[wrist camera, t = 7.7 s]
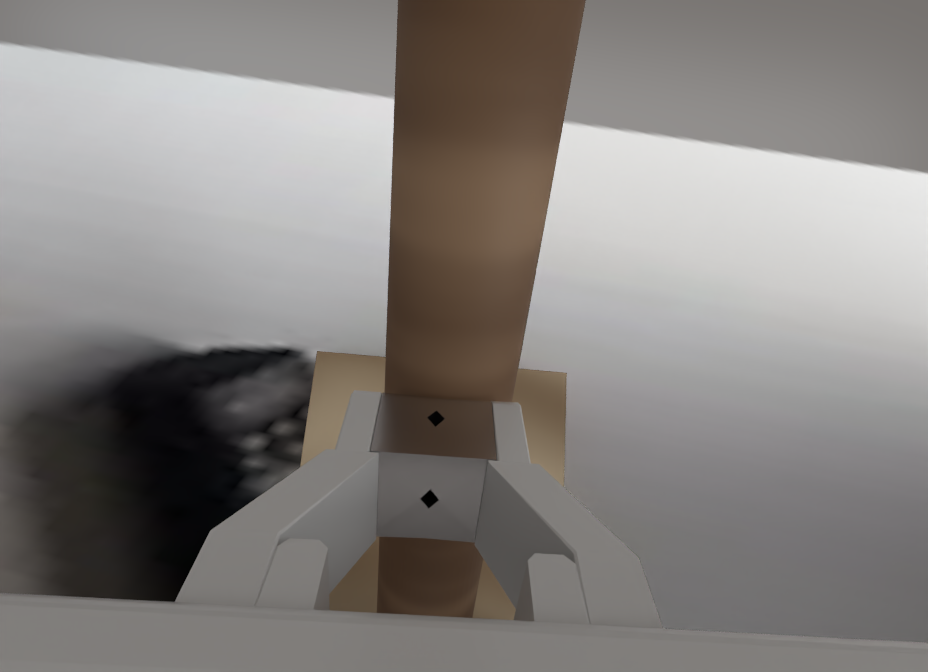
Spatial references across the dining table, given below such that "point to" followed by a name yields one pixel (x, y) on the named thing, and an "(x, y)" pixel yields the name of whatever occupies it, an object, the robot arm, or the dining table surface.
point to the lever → (467, 229)
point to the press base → (367, 373)
